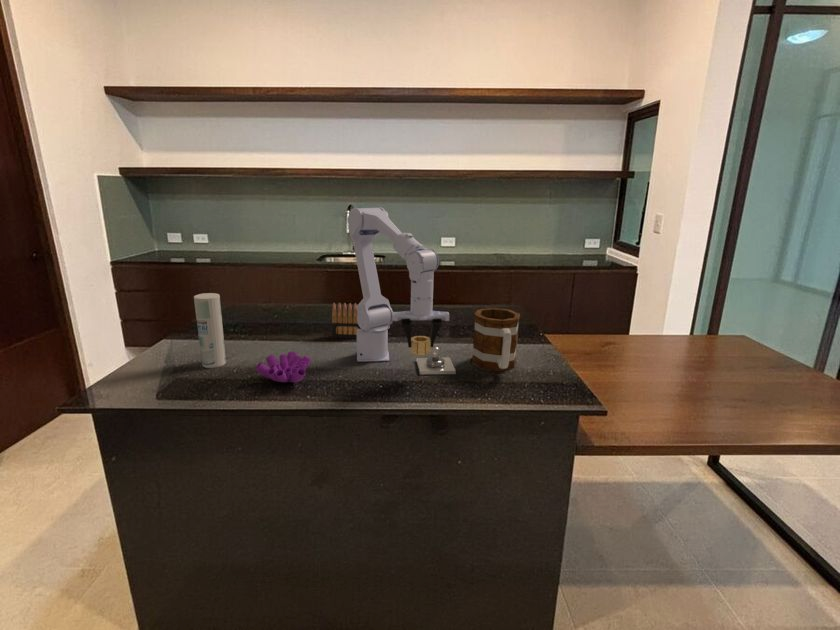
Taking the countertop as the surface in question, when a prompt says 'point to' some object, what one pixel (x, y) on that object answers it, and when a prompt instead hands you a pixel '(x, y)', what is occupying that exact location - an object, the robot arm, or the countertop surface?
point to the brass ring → (420, 345)
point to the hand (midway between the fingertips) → (420, 346)
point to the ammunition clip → (344, 322)
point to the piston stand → (435, 364)
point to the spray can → (210, 329)
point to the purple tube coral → (284, 367)
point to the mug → (495, 339)
